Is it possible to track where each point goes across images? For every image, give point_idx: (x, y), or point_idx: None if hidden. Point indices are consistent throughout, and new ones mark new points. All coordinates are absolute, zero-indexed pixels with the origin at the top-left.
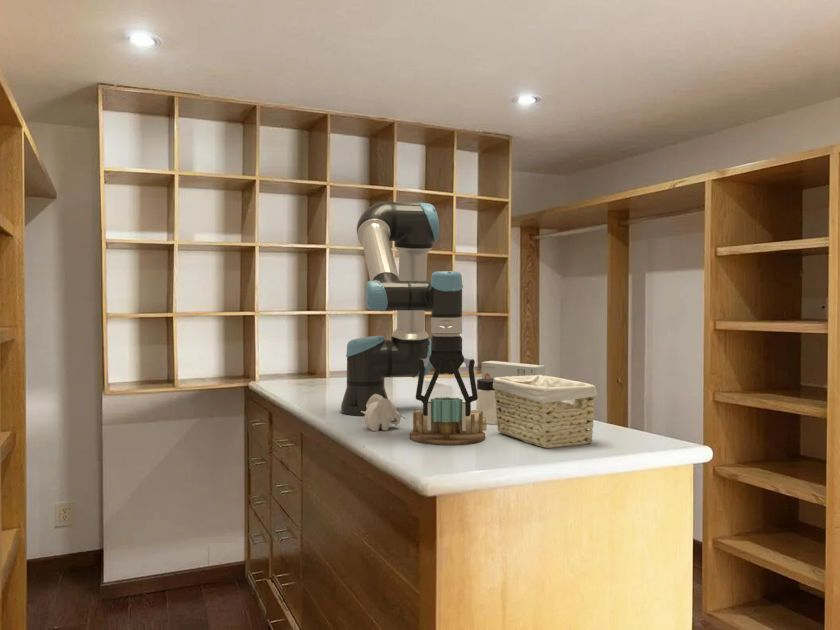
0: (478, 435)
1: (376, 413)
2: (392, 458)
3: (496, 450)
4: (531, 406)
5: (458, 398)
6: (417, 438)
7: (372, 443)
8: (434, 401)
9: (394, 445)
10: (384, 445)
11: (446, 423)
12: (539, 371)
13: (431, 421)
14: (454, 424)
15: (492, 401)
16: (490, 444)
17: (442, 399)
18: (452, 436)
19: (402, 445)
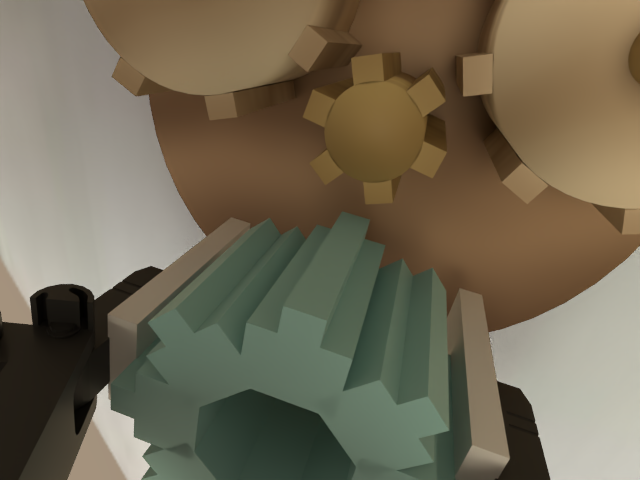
0: (601, 221)
1: None
2: (125, 440)
3: (555, 470)
4: None
5: (425, 459)
6: (194, 218)
7: (9, 187)
8: (152, 476)
9: (106, 252)
10: (66, 242)
11: None
12: None
13: (230, 240)
14: (445, 133)
15: None
16: (597, 355)
17: (235, 386)
18: (402, 216)
19: (139, 261)
